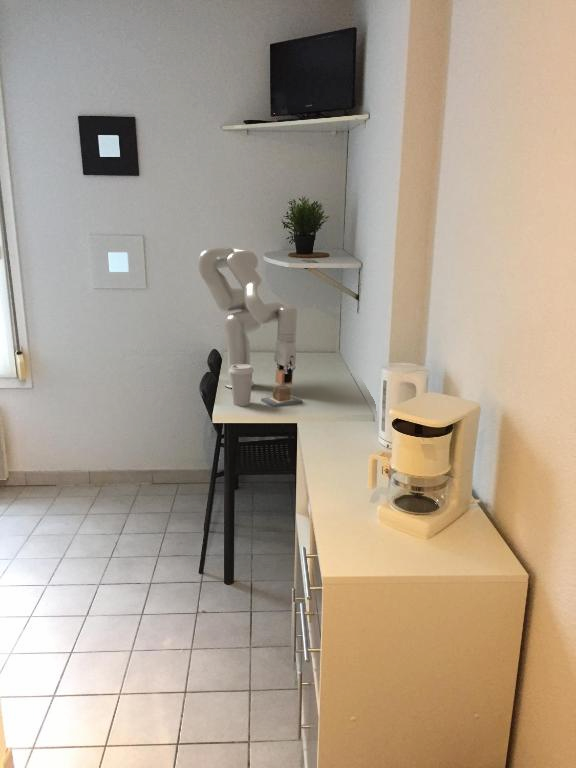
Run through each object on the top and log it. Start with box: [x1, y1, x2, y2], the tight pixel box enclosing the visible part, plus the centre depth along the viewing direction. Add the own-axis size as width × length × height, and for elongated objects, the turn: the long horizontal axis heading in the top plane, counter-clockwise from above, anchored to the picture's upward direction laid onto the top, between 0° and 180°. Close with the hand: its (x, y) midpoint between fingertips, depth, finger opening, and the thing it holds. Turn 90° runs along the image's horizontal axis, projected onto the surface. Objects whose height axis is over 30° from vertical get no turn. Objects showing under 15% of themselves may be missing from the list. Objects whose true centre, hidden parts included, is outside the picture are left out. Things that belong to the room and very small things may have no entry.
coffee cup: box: [229, 364, 254, 407], centre depth 253 cm, size 10×10×15 cm
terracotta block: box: [275, 368, 294, 386], centre depth 266 cm, size 5×5×5 cm
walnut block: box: [272, 384, 291, 401], centre depth 257 cm, size 5×5×5 cm
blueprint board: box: [260, 393, 303, 408], centre depth 257 cm, size 10×13×1 cm
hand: (284, 380), depth 267 cm, fingers closed on terracotta block, 4 cm apart
